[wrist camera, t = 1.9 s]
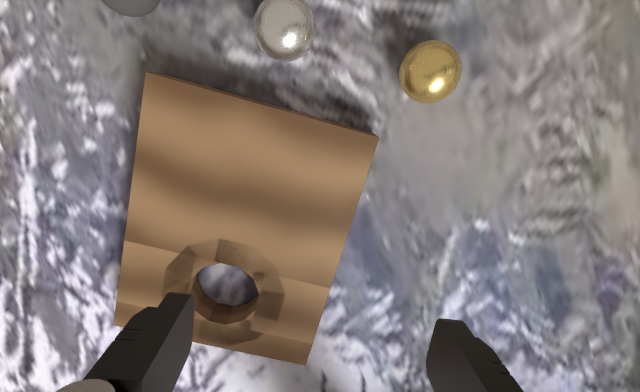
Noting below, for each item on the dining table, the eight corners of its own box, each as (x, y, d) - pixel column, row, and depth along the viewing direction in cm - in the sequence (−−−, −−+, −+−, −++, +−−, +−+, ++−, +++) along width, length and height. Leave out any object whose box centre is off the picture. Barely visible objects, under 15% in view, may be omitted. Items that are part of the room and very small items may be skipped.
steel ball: (265, -7, 24) (256, -25, 20) (322, 11, 24) (324, -4, 20) (252, 54, 25) (241, 48, 21) (307, 70, 25) (306, 67, 21)
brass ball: (403, 36, 25) (420, 27, 21) (456, 53, 25) (482, 46, 21) (385, 93, 26) (398, 94, 22) (436, 108, 26) (457, 112, 22)
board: (161, 73, 25) (145, 71, 23) (373, 133, 27) (379, 137, 24) (128, 306, 31) (113, 325, 28) (305, 344, 32) (305, 365, 30)
